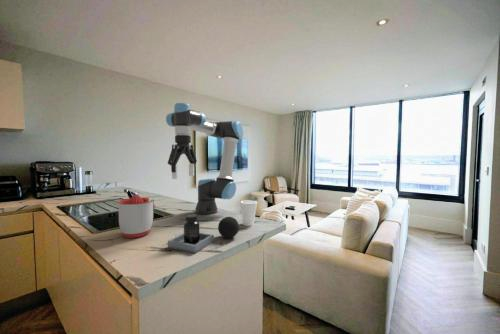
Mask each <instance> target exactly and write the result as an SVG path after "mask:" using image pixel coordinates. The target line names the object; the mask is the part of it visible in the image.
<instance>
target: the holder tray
mask: <svg viewBox="0 0 500 334" xmlns="http://www.w3.org/2000/svg"><path fill="white" fill-rule="evenodd" d="M214 235H215V234H211V233H205V232H200V241H199V243H197V244H195V245H193V244H188V243H184V232H183V233H181V234H179V235H177V236H175V237H173V238H171V239H169V240H168V241H167V248H168V249H172V250H176V251H181V252H186V253H191V254H194V255H195V254H197V253H199V252H201V251H202V250H203V249H204V248H206V247H208V246H210V245H211V244H212V243H213V242H214V241H215V236H214Z"/></svg>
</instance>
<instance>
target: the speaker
mask: <svg viewBox="0 0 500 334" xmlns="http://www.w3.org/2000/svg"><path fill="white" fill-rule="evenodd" d="M217 230H218V232H219V234H220V236H221V237H222V238H225V239H231V238H234V237H235V236H236V235H237V234H238V233H239V231H240V226H239V221H238V220H237V219H236V218H234V217H232V216H225V217H223V218H222V219H220V221H219V223H218V226H217Z"/></svg>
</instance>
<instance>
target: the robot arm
mask: <svg viewBox="0 0 500 334" xmlns="http://www.w3.org/2000/svg"><path fill="white" fill-rule="evenodd" d="M173 108H174V110H173V112H170V113H168V114H166V117H165V122H166V124H167V125H168V126H170V127H172V128H173V127H174V134H175V136H174V143H175V144H172V145H171V151H170V154H169V157H168V160H167V164H168V165H169V166H171V167H170V168H171V180H178V179H179V174H178V172H179V169H178V164H177V163H178V162H179V160H180V157H182V155H183V154H184V155H185V156H186V159H187V160H188V162H189V164H188V176H189V177H195V164H197V162H198V161H197V157H196V154H195V151H194V145H193V144H190V143H192V141H191V140H192V139H191V134H192V131H195V132H200V133H203V134H206V136H210V137H213V138H219V139H222V141H223V147H222V154H221V162H220V168H219V175H218V176H217V177H216V178H213V177H212V178H205V179H204V178H203V179H199V180H198V182H197V203H196V206H195V211H194V212H195V213H196V215H213V214H214V215H215V214H217V213H218V207H217V202H216V199H221V200H231V199H232V198H233V197H234V196H235V194H236V192H237V185H236V182H235V180H234V178H233V172H234V162H235V157H236V147H237V144H238V143H239V141H240V139H241V138H243V136H244V129H243V125H242V124H241V122H240V121H237V120H232V121H231V120H230V121H228V120H227V121H215V122H214V121H207V117H206V115H205V113H204V112H201V111H197V110H193V109H192V108H191V104H189V103H185V102H177V103H175V104H174V106H173Z"/></svg>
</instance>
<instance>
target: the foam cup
mask: <svg viewBox="0 0 500 334" xmlns="http://www.w3.org/2000/svg"><path fill="white" fill-rule="evenodd" d="M257 207H258V202H257V201H256V200H249V199H245V200H241V201H240V209H241V218H242V219H241V220H242V225H243V226H246V227H252V226H254V225H255V218H256V212H257Z"/></svg>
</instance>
